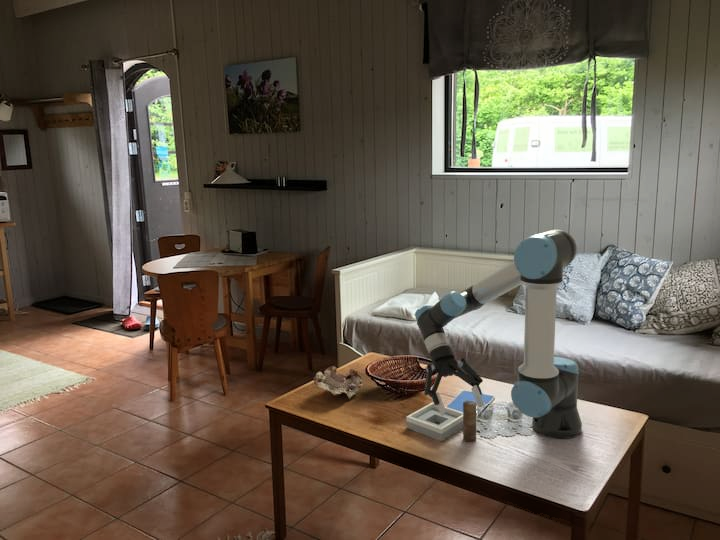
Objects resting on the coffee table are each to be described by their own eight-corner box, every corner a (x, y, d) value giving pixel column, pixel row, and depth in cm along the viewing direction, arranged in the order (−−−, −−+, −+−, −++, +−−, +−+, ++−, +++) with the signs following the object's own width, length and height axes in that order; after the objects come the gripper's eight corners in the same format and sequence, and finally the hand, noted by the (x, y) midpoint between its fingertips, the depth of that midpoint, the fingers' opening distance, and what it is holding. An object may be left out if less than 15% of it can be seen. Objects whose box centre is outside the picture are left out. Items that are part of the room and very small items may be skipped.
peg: (478, 439, 190) (478, 403, 187) (471, 443, 187) (471, 407, 184) (467, 435, 192) (467, 399, 190) (460, 439, 190) (460, 404, 187)
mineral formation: (330, 407, 213) (341, 382, 212) (300, 384, 223) (310, 360, 222) (367, 404, 231) (377, 381, 230) (337, 383, 241) (347, 361, 240)
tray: (467, 425, 199) (467, 413, 198) (441, 441, 189) (441, 429, 188) (432, 413, 209) (432, 402, 208) (406, 427, 199) (406, 416, 198)
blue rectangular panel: (475, 421, 203) (475, 417, 203) (441, 413, 210) (441, 409, 209) (495, 399, 219) (495, 396, 219) (463, 392, 225) (463, 389, 225)
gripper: (468, 348, 208) (492, 406, 198) (401, 360, 200) (423, 421, 189) (476, 338, 202) (501, 397, 192) (408, 350, 194) (431, 412, 183)
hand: (462, 409), depth 191 cm, fingers open, 13 cm apart
